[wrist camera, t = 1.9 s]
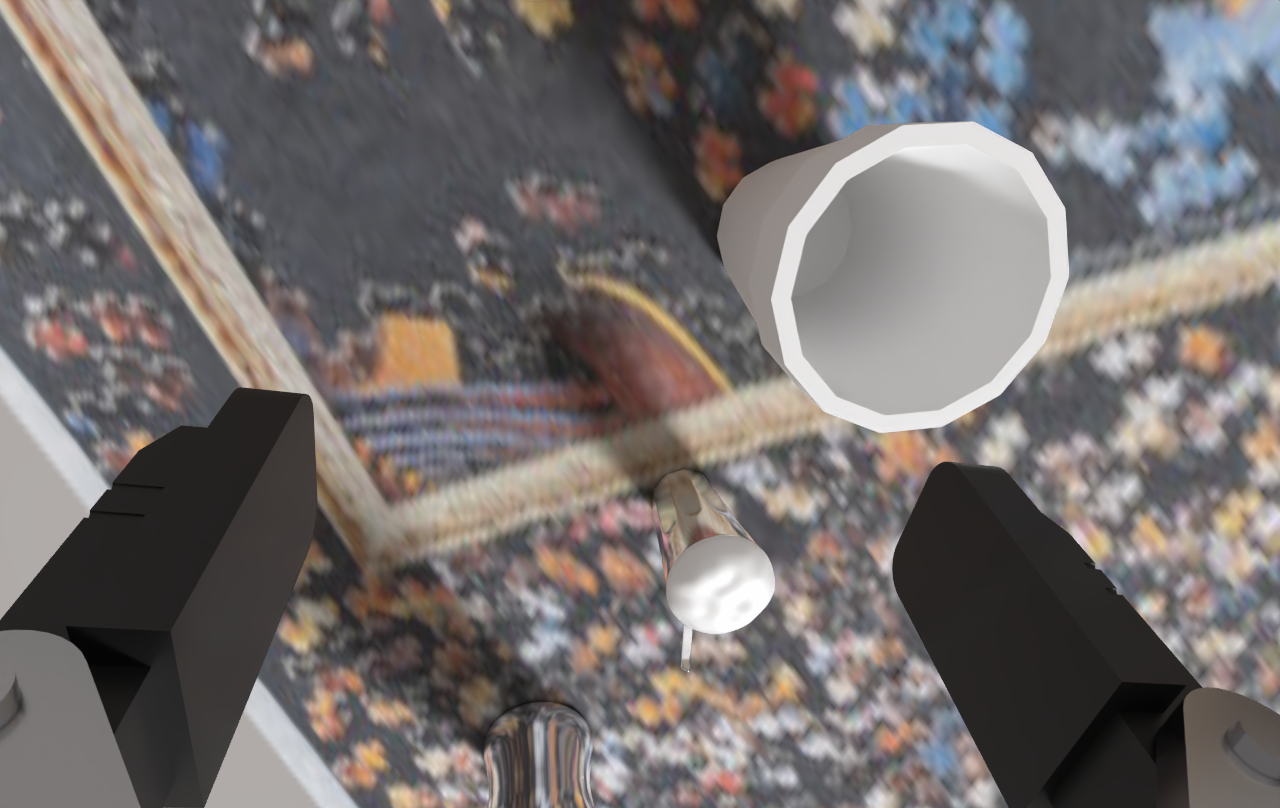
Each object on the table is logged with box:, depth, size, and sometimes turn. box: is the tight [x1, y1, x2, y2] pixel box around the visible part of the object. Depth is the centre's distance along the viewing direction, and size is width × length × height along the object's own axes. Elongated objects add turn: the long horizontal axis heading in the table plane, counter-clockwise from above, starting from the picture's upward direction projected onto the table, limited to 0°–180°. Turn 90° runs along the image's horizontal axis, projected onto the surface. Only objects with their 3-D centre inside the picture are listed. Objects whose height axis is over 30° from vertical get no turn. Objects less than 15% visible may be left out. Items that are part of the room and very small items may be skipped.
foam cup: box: [717, 122, 1069, 433], centre depth 29 cm, size 10×9×13 cm
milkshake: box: [652, 469, 775, 672], centre depth 34 cm, size 4×5×10 cm
